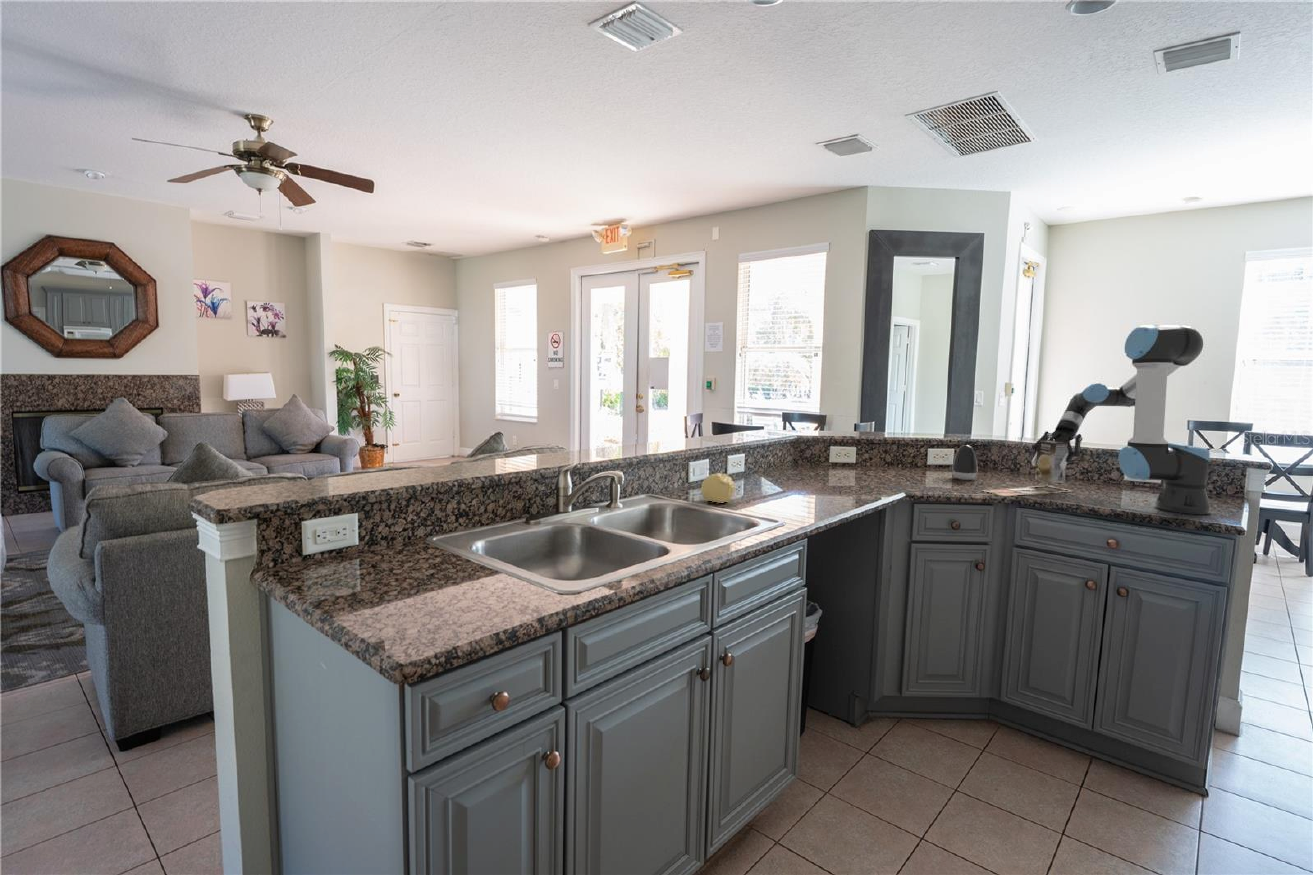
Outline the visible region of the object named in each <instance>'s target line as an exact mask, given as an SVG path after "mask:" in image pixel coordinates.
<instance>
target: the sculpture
mask: <svg viewBox="0 0 1313 875" xmlns="http://www.w3.org/2000/svg"><path fill="white" fill-rule="evenodd" d="M734 482H735V481H733V478H732V477H730V476H728V474H727V473H722V472H721V473H720V472H716V473H713V474H710V475H708V476H706V477H705V478H704V480H703V482H702V484H701V489H700V490H701V491H700V492H701V496H702V499H703V500H704V499H706V500H709V501H713V502H723V503H724V502H727V503H729V502H730V501H731V500H732V499H733V497H734V495H735V490H736V488H735V483H734ZM713 502H712V503H713Z"/></svg>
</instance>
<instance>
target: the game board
mask: <svg viewBox="0 0 1313 875" xmlns="http://www.w3.org/2000/svg"><path fill="white" fill-rule="evenodd" d="M1045 486H1048V487H1047V488H1051V487H1052V488H1051V489H1055V488H1056V490H1061V491H1048V490H1047V491H1046V490H1042V489H1039V488H1046V487H1045ZM1035 487H1039V488H1035ZM1022 490H1025V491H1022ZM1026 490H1030V491H1026ZM1032 490H1034V491H1032ZM1035 490H1039V491H1035ZM1065 490H1068V491H1065ZM983 491H984V493H987V492H989V493H988V494H991V493H992V495H995V496H999V497H1004V498H1011V496H1014V497H1018V496H1017V495H1028V496H1038V495H1039V496H1040V495H1049V494H1050V493H1054V494H1062V493H1061V492H1067V493H1074V490H1071V489H1065V488H1061V487H1056V486H1053V485H1037V486H1036V485H1034V486H1023V487H1022V486H1020V487H1008V488H1007V487H1006V488H1005V487H1004V488H995V489H992V488H991V489H982V490H981V492H983ZM1050 495H1051V494H1050Z"/></svg>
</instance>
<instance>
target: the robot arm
mask: <svg viewBox="0 0 1313 875" xmlns="http://www.w3.org/2000/svg"><path fill="white" fill-rule="evenodd" d="M1126 337H1127V338H1126V340H1125V342H1124V353H1125V356H1126V357H1127V358H1128V359H1130V360H1132V361H1131V365H1132V366H1133V367H1134V368H1135V369H1136V374H1135V375H1133V376H1132V377H1131V378H1130V379H1129V380H1127V381H1126V382H1125V383H1124V384H1123V385H1121V386H1120V387H1107V385H1105V384H1103V383H1101V382H1093V383H1092V384H1090V385H1089V386H1087V387H1085V388H1084V389H1083V390H1082V392H1080V393H1079V392H1078V393H1075V394H1073V396H1072V398H1070V400H1069V403H1068V405H1067V406H1066V409H1065V410H1064V412H1063V414H1062V416H1061V417H1060V419H1059V421H1058V423H1057V425H1056V427H1055V429H1054V431H1053V432H1049V431H1046V430H1045V432H1044V433H1043V435H1042V436H1041V437H1040V438H1039V439H1038V440H1037V441H1036V442H1035V443H1034V444H1033V445H1032V446H1031V448H1032V451H1033V454H1032V459H1031V464H1032V466H1034V467H1036V461H1037V448H1038V441H1049V440H1051V441H1057V442H1063V443H1068V446H1067V453H1066V454H1065V456H1064V458H1063V460H1062V462H1061V464H1060V467H1061V469H1062V470H1064V468H1065V466H1066V467H1067V464H1068V463H1070V462H1071V461H1072V459H1073V458H1074V457H1080V455H1081V442H1082V441H1083V437H1082V434H1081V433H1079V434H1078V432H1079V429H1080V427H1081V425H1082V424H1083V422H1084V419H1085V418H1086V416H1087V415H1088V413H1089V412H1090V411H1092V410H1094V409H1095V408H1096V407H1125V408H1126V407H1128V408H1130V407H1134V414H1133V415H1134V418H1133V431H1132V432H1133V435H1132V437H1131V438H1129V440H1127V446H1124V447H1122V448H1121V449H1120V452H1119V453H1118V456H1117V457H1118V458H1117V459H1118V465H1119V468H1120V470H1121V472H1122V473H1123V474H1124V475H1125V477H1127V478H1128V479H1131V480H1139V481H1164V482H1163V483H1164V484H1163V487H1162V489H1161V491H1160V493H1159V495H1158V496H1157V498H1156V500H1155V508H1156V509H1160V510H1164V511H1168V512H1173V513H1178V514H1188V515H1209V514H1210V513H1211V504H1210V501H1209V497H1208V494H1207V483H1208V474H1209V467H1210V462H1211V461H1210V456H1211V455H1210V451H1209V449H1207V448H1204V447H1200V446H1199V447H1198V446H1194V445H1186V444H1180V443H1173V442H1168V440H1166V438H1165V437H1164V436H1165V435H1164V434H1165V420H1166V419H1165V418H1166V405H1167V404H1166V403H1167V402H1166V401H1167V388H1168V387H1167V386H1168V385H1167V383H1168V377H1169V376H1170V375H1172V373H1174V372H1175V371H1177V370H1178V369H1180V368H1181V367H1185V366H1188V365H1189V364H1191V363H1192V362H1193V361H1195V360H1196V359H1197V358H1198V357H1199V356H1200V354H1201V353H1202V350H1203V348H1204V339H1203V336H1202V334H1201V333H1200V332H1199V331H1198V330H1196V329H1195V328H1193V327H1192V326H1189V325H1188V326H1187V325H1181V324H1180V325H1172V324H1171V325H1169V324H1167V325H1165V324H1162V325H1161V324H1153V325H1152V324H1149V325H1140V326H1137V327H1136V328H1134V329H1132V331H1131V332H1130V333H1129V334H1128V336H1126ZM1073 440H1074V451H1073V448H1072V445H1071V444H1072V443H1071V441H1073Z"/></svg>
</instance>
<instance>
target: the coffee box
mask: <svg viewBox="0 0 1313 875" xmlns="http://www.w3.org/2000/svg"><path fill="white" fill-rule="evenodd" d="M1048 440H1049V439H1048ZM1037 441H1038V440H1037ZM1067 446H1068V443H1063V442H1057V441H1055V440H1054V441H1051V440H1049V441H1038V448H1037V461H1036V466H1035V476H1034V477H1035V479H1034V480H1037V481H1042V482H1046V483H1051V484H1057V483H1058V484H1059V483H1065V480H1066V479H1065V478H1066V469H1067V465H1066V466H1065V468H1064V470H1062V469H1061V467H1060V464H1061V462H1062V460H1063V458H1064V456H1065V454H1066V453H1068V448H1067Z"/></svg>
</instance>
